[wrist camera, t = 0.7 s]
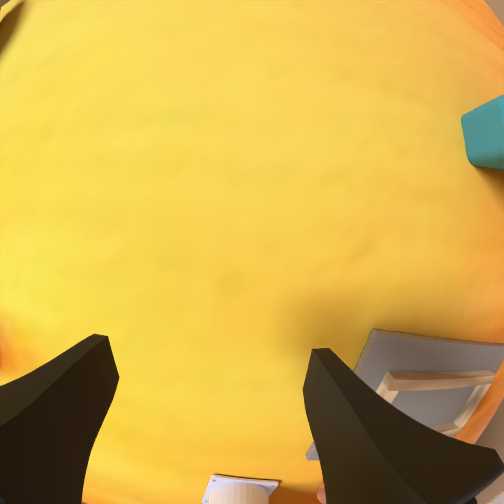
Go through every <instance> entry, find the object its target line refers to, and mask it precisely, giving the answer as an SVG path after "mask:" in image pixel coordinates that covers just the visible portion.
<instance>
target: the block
mask: <svg viewBox="0 0 504 504" xmlns="http://www.w3.org/2000/svg"><path fill="white" fill-rule="evenodd" d="M461 122H462V128H463V133H464V139H465V145H466V152H467V157H468V160H469V162H470V163H471V164H472V165H474V166H481V167H487V168H493V169H499V170H504V95H502V96H499V97H497V98H495V99H493V100H491V101H489V102H487V103H485V104H483V105H481V106H480V107H478V108H476V109H474V110H472V111H470V112H468V113H466V114H464V115H463V116H462V118H461Z"/></svg>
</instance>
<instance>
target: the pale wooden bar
mask: <svg viewBox="0 0 504 504" xmlns="http://www.w3.org/2000/svg"><path fill="white" fill-rule="evenodd" d="M317 498H318V500H319V501H320V502H321V503H323V504H326V495H325V488H324V482H323V483H322V484H321V485H320V486H319V487H318V489H317Z"/></svg>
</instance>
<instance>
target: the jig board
mask: <svg viewBox="0 0 504 504" xmlns="http://www.w3.org/2000/svg"><path fill="white" fill-rule="evenodd" d="M503 359H504V344H500V343H487V342H475V341H465V340H455V339H446V338H437V337H429V336H421V335H414V334H406V333H399V332H393V331H386V330H380V329H372V331H371V334H370V336H369V338H368V341H367V343H366V345H365V347H364V350H363V352H362V354H361V356H360V358H359V361H358V363H357V365H356V367H355V369H354V371H353V372H354V373H355V374H356V375H357V376H358V377H359V378H360V379H361V380H362V381H364V382H365V383H366V384H367V385H368V386H369V387H370V388H372V389H373V390H374V391H375V392H376V393H377V394H379V395H380V396H381V397H382V398H384V399H385V400H386V401H388V402H389V403H390V404H391V405H393V406H394V407H396V408H397V409H399V410H400V411H402V412H403V413H405V414H406V415H408V416H409V417H411V418H413V419H414V420H416V421H418V422H420V423H421V424H423V425H425V426H427V427H429V428H431V429H433V430H435V431H437V432H439V433H442V434H444V435H447V436H449V437H452V438H454V437H455V436H456V434H458V433H459V432H460V430H461V429H462V428H463V426H464V425H465V424H466V422H467V421H468V419H469V418H470V417H471V415H472V414H473V412H474V411H475V409H476V408H477V406H478V405H479V403H480V402H481V400H482V398H483V397H484V395H485V394H486V392H487V390H488V389H489V387H490V385H491V383H492V382H493V380H494V378H495V376H496V375H495V374H496V372H497V370H498V369H499V367H500V365H501V363H502V361H503ZM306 457H307V460H319V457H318V453H317V450H316V446H315V443H314V442H313V444H312V445H311V447H310V448H309V450H308V451H307V453H306Z"/></svg>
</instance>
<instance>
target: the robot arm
mask: <svg viewBox="0 0 504 504" xmlns="http://www.w3.org/2000/svg"><path fill="white" fill-rule="evenodd" d="M118 381H119V374H118V371H117V368H116V364H115V361H114V357H113V354H112V350H111V346H110V343H109V339H108V336H104V335H98V334H93V335H91V336H89V337H87V338H86V339H84V340H82V341H81V342H79V343H78V344H76V345H74V346H73V347H71V348H70V349H68V350H67V351H65V352H63V353H62V354H60V355H59V356H57V357H56V358H54V359H52V360H51V361H49V362H47V363H46V364H44V365H42V366H41V367H39V368H37V369H35V370H34V371H32V372H30V373H28V374H26V375H24V376H22V377H20V378H18V379H16V380H14V381H12V382H9V383H7V384H5V385H2V386H0V504H81V501H82V492H83V485H84V479H85V474H86V469H87V465H88V461H89V457H90V453H91V450H92V447H93V444H94V442H95V439H96V437H97V435H98V432H99V430H100V428H101V425H102V423H103V421H104V419H105V416H106V414H107V412H108V410H109V407H110V405H111V403H112V400H113V398H114V394H115V391H116V388H117V384H118ZM303 395H304V403H305V409H306V415H307V418H308V422H309V425H310V429H311V433H312V436H313V440H314V443H315V446H316V450H317V453H318V457H319V460H320V464H321V469H322V474H323V481H324V488H325V495H326V504H477V500H476V498H475V496H476V495H478V494H479V493H480V492H481V491H483V490H484V489H485V488H486V487H488V486H489V485H490V484H491V483H492V482H494V481H495V480H496V479H497V478H498V477H499V476H500V475H501V474H502V473H503V472H504V463H503V462H502V460H501V458H500V457H499V455H498V454H497V452H496V450H495V449H491V448H487V447H482V446H478V445H474V444H469V443H466V442H463V441H460V440H457V439H454V438H452V437H449V436H447V435H444V434H442V433H439V432H437V431H435V430H433V429H431V428H429V427H427V426H425V425H423V424H421V423H420V422H418V421H416V420H414V419H413V418H411V417H409V416H408V415H406V414H405V413H403V412H402V411H400V410H399V409H397V408H396V407H394V406H393V405H391V404H390V403H389V402H388V401H386V400H385V399H384V398H382V397H381V396H380V395H379V394H377V393H376V392H375V391H374V390H373V389H372V388H370V387H369V386H368V385H367V384H366V383H365V382H364V381H362V380H361V379H360V378H359V377H358V376H357V375H356V374H355V373H354V372H353V371H352V370H351V369H350V368H349V367H348V366H347V365H346V364H345V363H344V362H343V361H342V360H341V359H340V358H339V357H338V356H337V355H336V354H335V353H334V352H333V351H332V350H330V349H329V348H320V349H312V352H311V357H310V361H309V365H308V370H307V374H306V378H305V382H304V386H303ZM278 485H279V483H278V481H271V480H256V479H245V478H236V477H228V476H221V475H212V476H211V478H210V481H209V484H208V486H207V489H206V492H205V494H204V497H203V499H202V504H269V499H268V498H269V496H270V495H271V494H272V492H273V491H274V490H275V489H276V487H277V486H278ZM486 504H504V491H502V492H500V493H499V494H498V495H497V496H496V497H494V498H493V499H491V500H490V501H489V502H487V503H486Z"/></svg>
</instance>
